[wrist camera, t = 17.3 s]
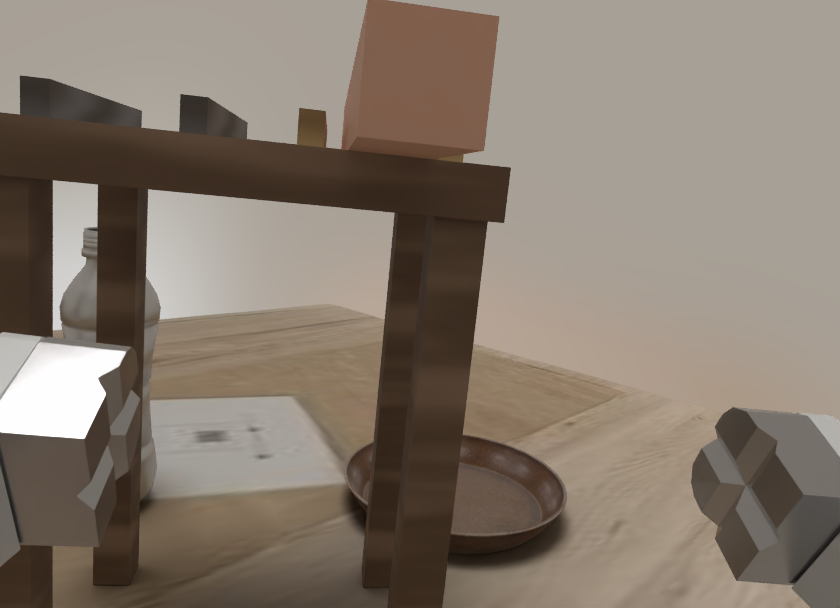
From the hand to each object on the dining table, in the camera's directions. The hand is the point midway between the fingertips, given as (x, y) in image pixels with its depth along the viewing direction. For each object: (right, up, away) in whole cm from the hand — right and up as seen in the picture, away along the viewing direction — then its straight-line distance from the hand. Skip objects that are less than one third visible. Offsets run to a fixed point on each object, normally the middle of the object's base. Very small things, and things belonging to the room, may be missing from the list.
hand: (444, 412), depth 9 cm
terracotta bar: (-2, +7, +18) cm, 20 cm away
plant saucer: (+2, -15, +44) cm, 47 cm away
